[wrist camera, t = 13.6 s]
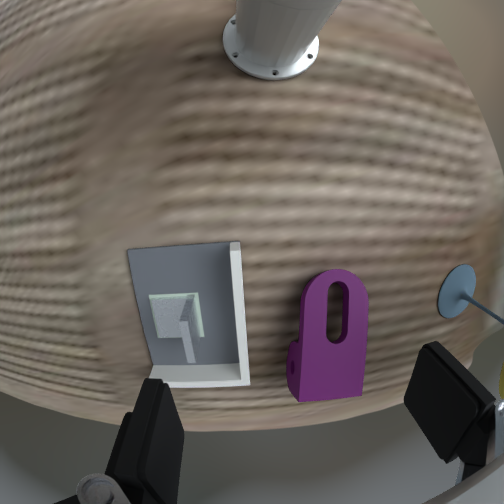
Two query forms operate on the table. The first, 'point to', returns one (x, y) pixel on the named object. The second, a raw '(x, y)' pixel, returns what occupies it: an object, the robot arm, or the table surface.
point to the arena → (208, 308)
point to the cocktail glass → (463, 300)
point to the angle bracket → (179, 321)
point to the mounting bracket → (329, 353)
